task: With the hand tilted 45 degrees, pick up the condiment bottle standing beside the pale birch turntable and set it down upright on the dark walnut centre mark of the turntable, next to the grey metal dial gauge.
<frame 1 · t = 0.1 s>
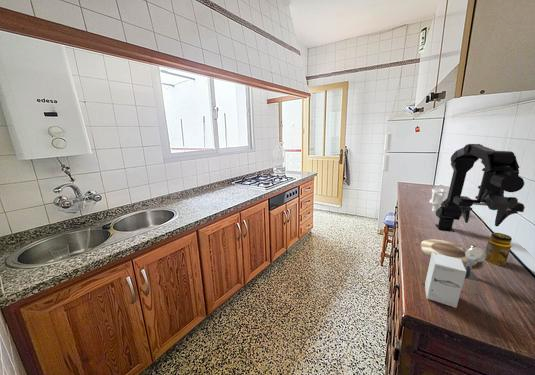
hand: (480, 224, 84), 15 cm above the sideboard top, tool pointing down, fingers open, 9 cm apart
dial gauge: (465, 277, 76), on the sideboard top
turntable: (447, 251, 89), point 2 cm above the sideboard top, hinge at 0.0°
supplement box: (439, 296, 68), on the sideboard top
condiment: (489, 263, 85), on the sideboard top
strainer: (434, 211, 137), on the sideboard top
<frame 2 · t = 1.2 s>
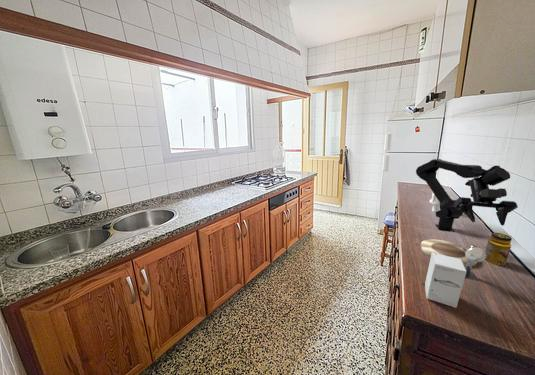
hand: (488, 223, 88), 13 cm above the sideboard top, tool tilted 45°, fingers open, 9 cm apart
nothing on the sideboard top moved.
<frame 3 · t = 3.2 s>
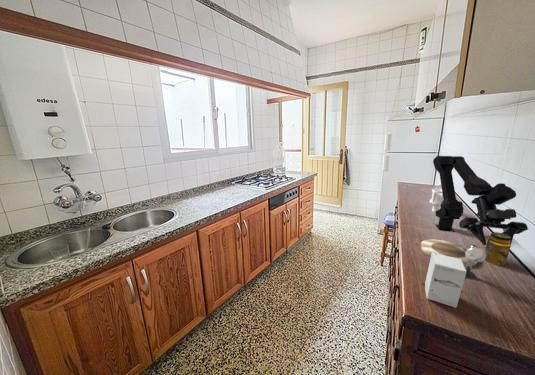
hand: (496, 246, 82), 7 cm above the sideboard top, tool tilted 45°, fingers open, 7 cm apart
condiment: (490, 262, 84), on the sideboard top, touching gripper
everything else where it was.
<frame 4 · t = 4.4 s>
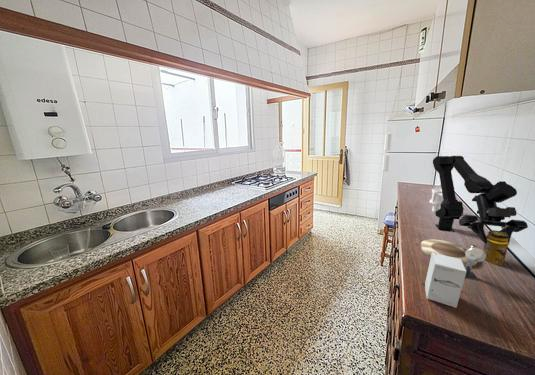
hand: (496, 244, 82), 8 cm above the sideboard top, tool tilted 45°, fingers closed on condiment, 6 cm apart
condiment: (488, 260, 85), on the sideboard top, touching gripper
everything else where it was.
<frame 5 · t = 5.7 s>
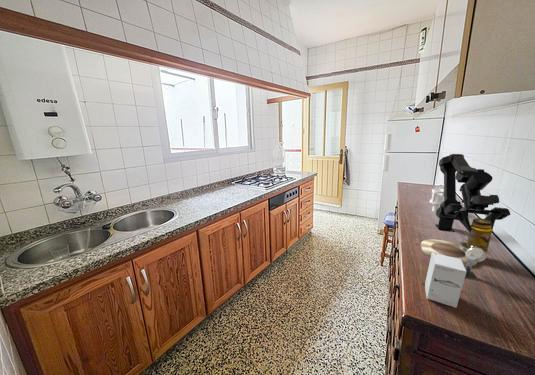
hand: (479, 231, 83), 12 cm above the sideboard top, tool tilted 45°, fingers closed on condiment, 6 cm apart
condiment: (473, 248, 86), point 5 cm above the sideboard top, touching gripper
everything else where it was.
when the fingers open (11 cm above the sideboard top, at t = 7.2 s): condiment stays where it is, resting on turntable.
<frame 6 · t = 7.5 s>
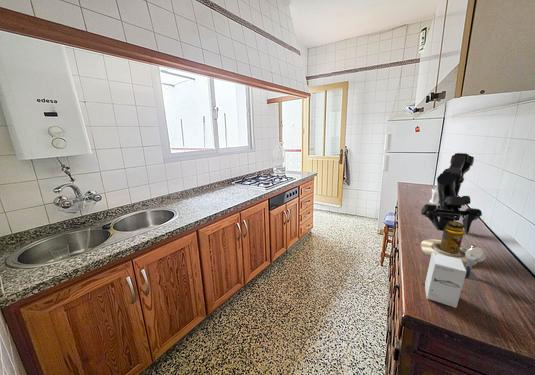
hand: (452, 231, 86), 11 cm above the sideboard top, tool tilted 45°, fingers open, 9 cm apart
turntable: (447, 251, 89), point 2 cm above the sideboard top, hinge at 0.0°, touching condiment
condiment: (446, 250, 89), point 2 cm above the sideboard top, touching turntable
everything else where it was.
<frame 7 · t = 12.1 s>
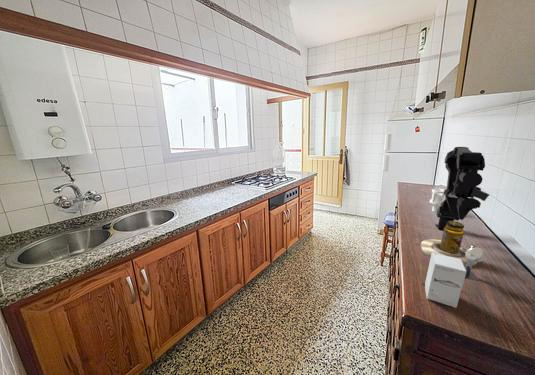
hand: (456, 215, 96), 13 cm above the sideboard top, tool pointing down, fingers open, 9 cm apart
nothing on the sideboard top moved.
at the end: condiment 0.5 cm from the turntable (horizontally); condiment tilted 0°; condiment point 2.3 cm above the sideboard top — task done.
